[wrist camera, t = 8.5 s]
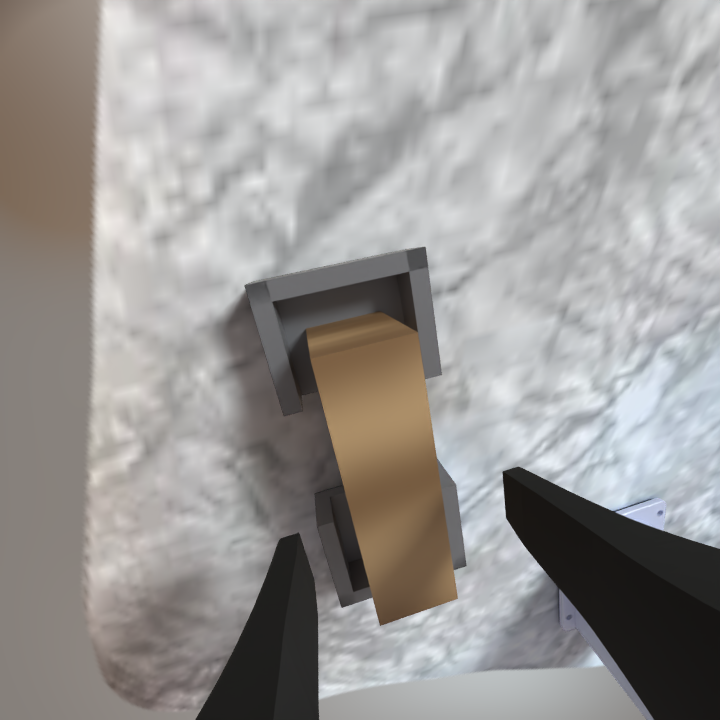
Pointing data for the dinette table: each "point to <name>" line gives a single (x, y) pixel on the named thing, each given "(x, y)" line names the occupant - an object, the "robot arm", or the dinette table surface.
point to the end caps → (296, 378)
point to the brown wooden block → (386, 458)
